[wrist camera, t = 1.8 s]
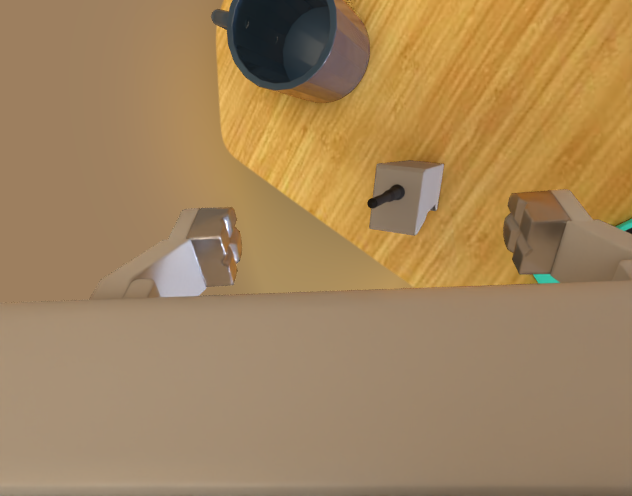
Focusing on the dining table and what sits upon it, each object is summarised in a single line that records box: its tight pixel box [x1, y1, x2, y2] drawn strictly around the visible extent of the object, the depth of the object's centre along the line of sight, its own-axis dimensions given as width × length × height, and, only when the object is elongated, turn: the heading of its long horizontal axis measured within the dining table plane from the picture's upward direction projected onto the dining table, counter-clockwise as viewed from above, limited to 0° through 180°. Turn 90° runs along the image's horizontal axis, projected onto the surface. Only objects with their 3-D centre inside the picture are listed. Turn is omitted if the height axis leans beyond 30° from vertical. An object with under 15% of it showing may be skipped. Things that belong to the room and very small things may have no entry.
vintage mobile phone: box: [368, 160, 444, 235], centre depth 38 cm, size 4×5×25 cm
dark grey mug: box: [211, 0, 370, 103], centre depth 45 cm, size 14×10×12 cm
